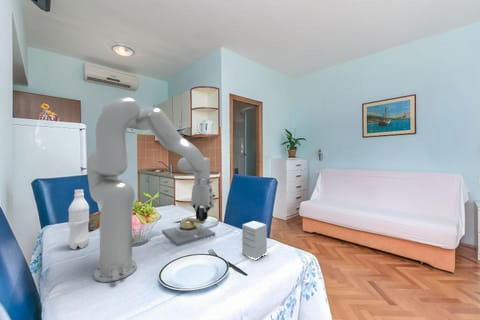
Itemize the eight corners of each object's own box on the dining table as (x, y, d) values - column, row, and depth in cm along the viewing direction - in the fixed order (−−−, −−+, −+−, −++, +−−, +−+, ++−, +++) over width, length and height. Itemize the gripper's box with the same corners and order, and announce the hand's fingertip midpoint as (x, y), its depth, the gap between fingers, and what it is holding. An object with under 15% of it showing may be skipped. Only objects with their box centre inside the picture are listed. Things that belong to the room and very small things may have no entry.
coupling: (207, 231, 104) (207, 207, 104) (200, 235, 98) (200, 210, 98) (185, 227, 110) (185, 204, 110) (176, 231, 104) (176, 207, 104)
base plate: (215, 235, 103) (215, 228, 103) (176, 246, 91) (176, 238, 91) (197, 225, 119) (197, 219, 119) (162, 232, 107) (162, 226, 107)
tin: (90, 232, 107) (90, 216, 107) (84, 232, 107) (84, 216, 107) (108, 223, 122) (108, 209, 122) (103, 223, 122) (103, 209, 122)
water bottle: (67, 246, 89) (67, 189, 89) (87, 242, 95) (87, 188, 94) (70, 252, 85) (69, 191, 84) (91, 246, 90) (91, 189, 89)
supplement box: (253, 249, 89) (253, 220, 89) (267, 255, 84) (267, 224, 83) (241, 254, 84) (241, 224, 83) (255, 261, 78) (255, 228, 78)
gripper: (220, 182, 103) (219, 218, 103) (192, 180, 108) (191, 215, 108) (213, 184, 95) (212, 223, 96) (183, 182, 101) (183, 219, 101)
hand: (201, 218), depth 102 cm, fingers closed on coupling, 3 cm apart
